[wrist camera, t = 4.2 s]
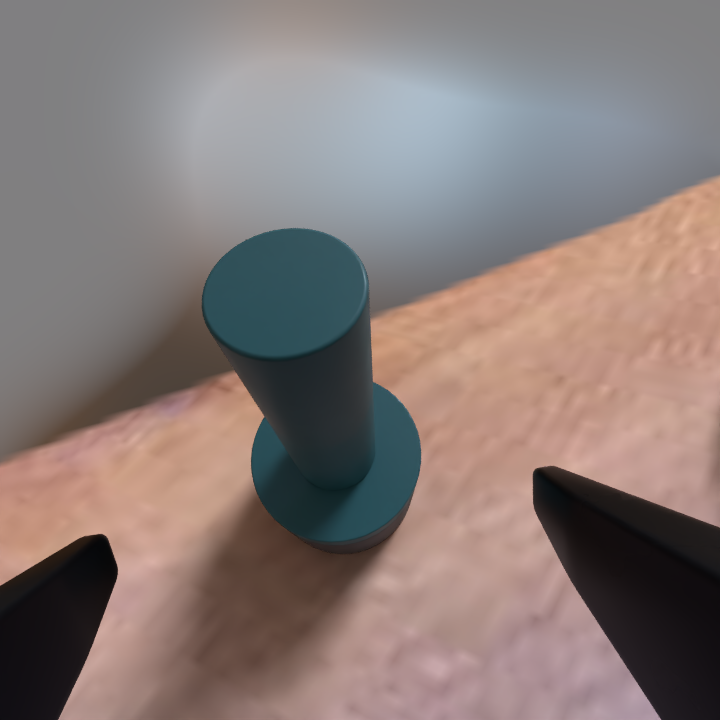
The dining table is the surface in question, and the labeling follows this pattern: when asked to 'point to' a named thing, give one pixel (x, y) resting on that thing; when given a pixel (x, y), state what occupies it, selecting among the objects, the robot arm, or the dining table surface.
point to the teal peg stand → (314, 388)
